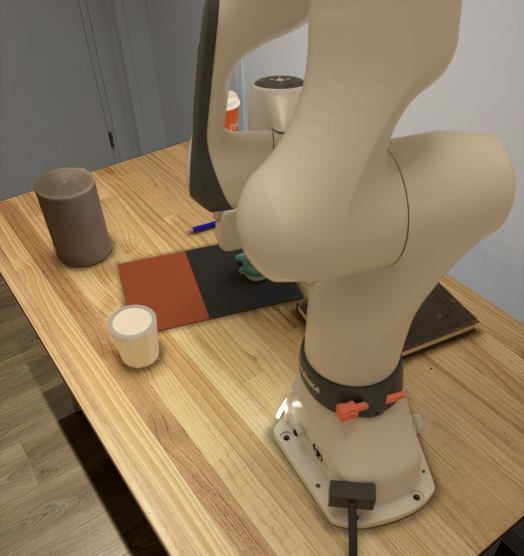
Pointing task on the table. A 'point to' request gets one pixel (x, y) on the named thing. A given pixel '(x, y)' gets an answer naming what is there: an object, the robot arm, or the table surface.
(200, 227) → the pencil
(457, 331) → the hardcover book
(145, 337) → the jar candle
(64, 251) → the pillar candle
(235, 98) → the paper cup
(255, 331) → the table surface
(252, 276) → the whale figurine
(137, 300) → the mat
